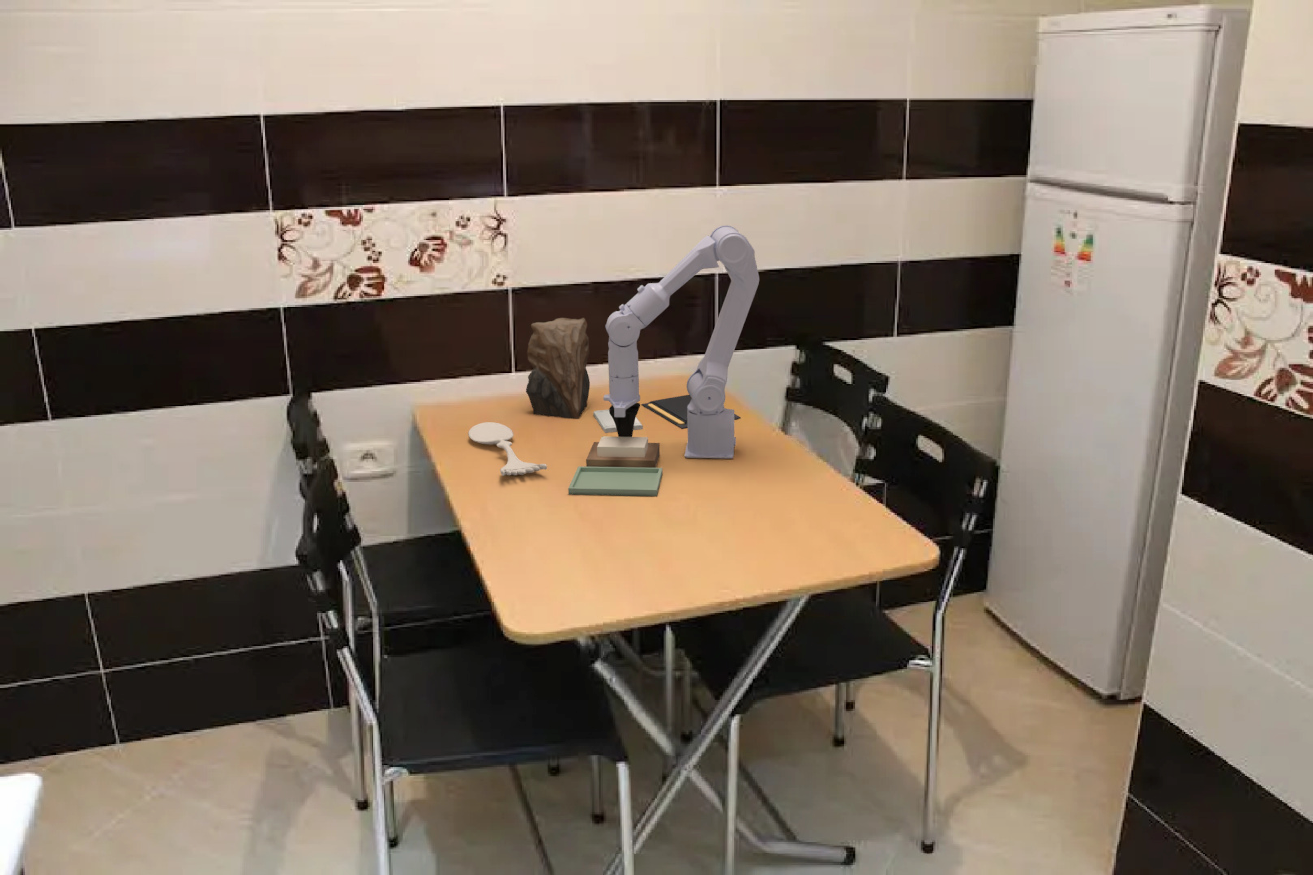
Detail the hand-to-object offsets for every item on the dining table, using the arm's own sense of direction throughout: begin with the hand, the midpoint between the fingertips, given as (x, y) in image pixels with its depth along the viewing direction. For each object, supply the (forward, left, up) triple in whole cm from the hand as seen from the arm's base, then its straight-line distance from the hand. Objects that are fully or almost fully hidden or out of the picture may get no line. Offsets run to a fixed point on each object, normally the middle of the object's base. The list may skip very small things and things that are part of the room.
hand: (625, 441), depth 219 cm
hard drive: (+4, -21, -4) cm, 22 cm away
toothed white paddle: (+24, +1, -4) cm, 24 cm away
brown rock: (+17, -28, -3) cm, 33 cm away
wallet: (-11, -29, -4) cm, 32 cm away
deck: (0, +4, -3) cm, 5 cm away
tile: (0, +4, -1) cm, 4 cm away
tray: (0, +15, -3) cm, 15 cm away
